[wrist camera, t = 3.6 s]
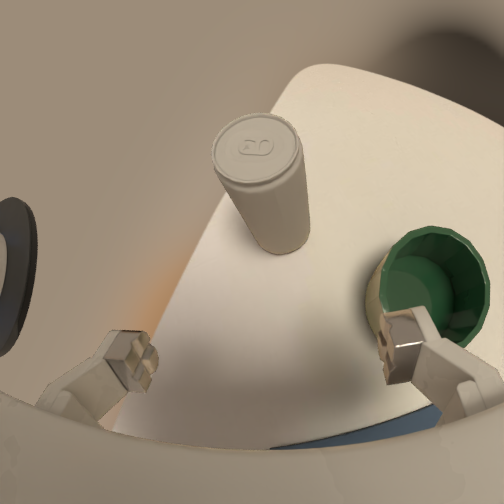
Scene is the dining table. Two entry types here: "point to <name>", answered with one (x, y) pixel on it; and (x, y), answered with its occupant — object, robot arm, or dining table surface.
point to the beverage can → (265, 179)
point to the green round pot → (432, 283)
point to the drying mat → (378, 430)
